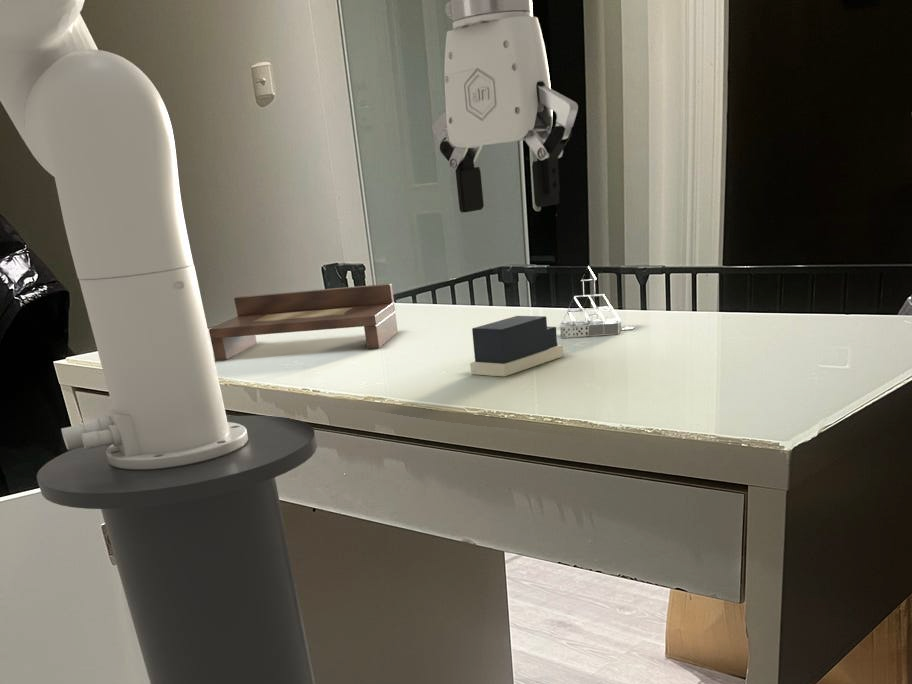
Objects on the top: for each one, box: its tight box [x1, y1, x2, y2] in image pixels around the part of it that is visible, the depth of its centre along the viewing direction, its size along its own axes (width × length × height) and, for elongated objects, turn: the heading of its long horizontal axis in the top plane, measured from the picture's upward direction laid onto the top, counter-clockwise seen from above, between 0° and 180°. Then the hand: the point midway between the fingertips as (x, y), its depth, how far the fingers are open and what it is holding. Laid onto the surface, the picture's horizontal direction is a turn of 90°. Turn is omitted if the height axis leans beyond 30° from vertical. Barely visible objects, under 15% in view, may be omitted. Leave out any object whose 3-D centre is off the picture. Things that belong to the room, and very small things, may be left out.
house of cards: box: [559, 265, 635, 339], centre depth 116 cm, size 9×9×8 cm
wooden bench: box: [208, 283, 399, 362], centre depth 126 cm, size 22×12×6 cm, turn 83°
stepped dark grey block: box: [469, 315, 564, 378], centre depth 102 cm, size 10×5×5 cm, turn 140°
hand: (508, 208), depth 96 cm, fingers open, 9 cm apart
